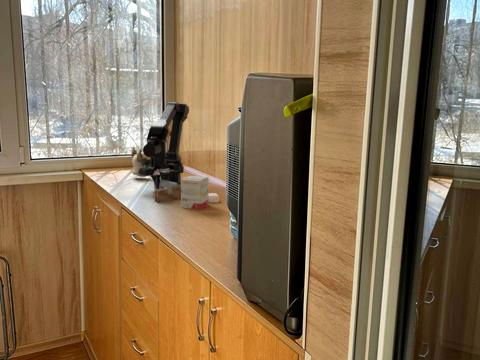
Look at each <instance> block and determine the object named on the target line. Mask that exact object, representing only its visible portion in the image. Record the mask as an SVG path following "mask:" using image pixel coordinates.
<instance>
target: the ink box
mask: <svg viewBox="0 0 480 360" xmlns="http://www.w3.org/2000/svg"><path fill="white" fill-rule="evenodd" d="M180 185H181V198H180V207H181V208H185V209H189V210H190V209H191V210H203V209H205V208H207V207H208V206H210V203H209V193H210V191H209V190H210V189H209V176H198V175H188V176H185V177H183V178H181V183H180Z"/></svg>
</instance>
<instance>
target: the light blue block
mask: <svg viewBox="0 0 480 360" xmlns="http://www.w3.org/2000/svg"><path fill="white" fill-rule="evenodd" d="M178 185H179V184H178V183H175V182H171V181H167V180H163V179H161V178H160V183H159V189H163V188H165V189H168V193H172V187H173V186H178ZM153 190H154V191H155V190H158V189H156V187H155V184H154V183H153Z"/></svg>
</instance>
